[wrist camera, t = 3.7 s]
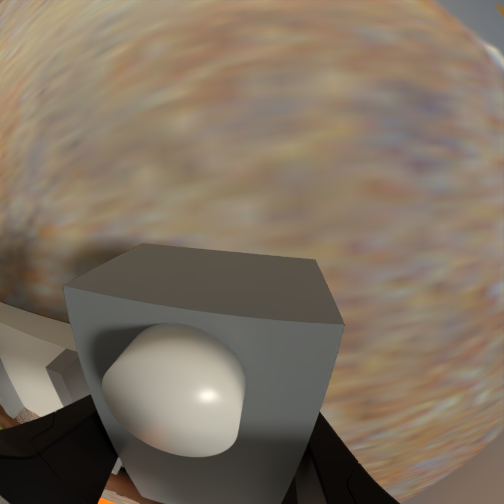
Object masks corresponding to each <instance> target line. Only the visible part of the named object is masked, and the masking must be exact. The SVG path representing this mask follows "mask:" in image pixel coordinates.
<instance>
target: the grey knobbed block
mask: <svg viewBox="0 0 504 504" xmlns="http://www.w3.org/2000/svg"><path fill="white" fill-rule="evenodd" d="M63 290H64V296H65V302H66V307H67V312H68V317H69V321H70V326H71V330H72V334H73V338H74V342H75V346H76V349H77V353H78V356H79V360H80V363H81V366H82V370H83V373H84V376H85V379H86V382H87V385H88V387H89V390H90V393H91V396H92V398H93V401H94V404H95V406H96V409H97V411H98V413H99V416H100V418H101V421H102V423H103V425H104V427H105V430H106V432H107V434H108V436H109V438H110V440H111V442H112V445H113V447H114V449H115V451H116V452H117V454H118V456H119V458H120V460H121V462H122V464H123V466H124V467H125V469H126V471H127V473H128V474H129V476H130V478H131V480H132V481H133V483H134V485H135V486H136V488H137V489H138V491H139V493H140V494H141V496H142V497H145V498H148V499H151V500H154V501H157V502H161V503H164V504H281V503H282V501H283V499H284V497H285V495H286V492H287V490H288V488H289V486H290V484H291V482H292V480H293V477H294V475H295V473H296V471H297V468H298V466H299V464H300V461H301V459H302V456H303V454H304V452H305V449H306V447H307V444H308V442H309V439H310V436H311V434H312V431H313V428H314V426H315V423H316V420H317V417H318V414H319V412H320V409H321V406H322V403H323V400H324V397H325V394H326V391H327V387H328V384H329V381H330V378H331V374H332V371H333V367H334V364H335V360H336V357H337V353H338V349H339V346H340V342H341V338H342V334H343V330H344V326H345V324H344V322H343V319H342V317H341V315H340V312H339V310H338V308H337V306H336V303H335V301H334V299H333V297H332V294H331V292H330V290H329V288H328V286H327V284H326V281H325V279H324V277H323V275H322V273H321V271H320V268H319V266H318V264H317V262H316V260H313V259H302V258H292V257H281V256H270V255H260V254H249V253H238V252H228V251H217V250H206V249H196V248H185V247H175V246H164V245H154V244H144V243H143V244H141V245H139V246H137V247H135V248H133V249H131V250H129V251H127V252H125V253H123V254H121V255H119V256H117V257H115V258H113V259H111V260H109V261H107V262H105V263H103V264H101V265H99V266H98V267H96V268H94V269H92V270H90V271H88V272H86V273H85V274H83V275H81V276H79V277H77V278H75V279H74V280H72V281H70V282H68V283H66V284H65V285H63Z"/></svg>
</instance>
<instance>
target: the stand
mask: <svg viewBox="0 0 504 504" xmlns="http://www.w3.org/2000/svg"><path fill="white" fill-rule="evenodd" d="M90 394H91V393H90V390H89V387H88V385H87V382H86V379H85V376H84V373H83V370H82V366H81V363H80V360H79V356H78V353H77V349H76V346H75V342H74V338H73V334H72V330H71V326H70V324H68V323H65V322H61V321H57V320H54V319H50V318H47V317H44V316H40V315H37V314H34V313H31V312H28V311H25V310H22V309H19V308H16V307H13V306H10V305H7V304H4V303H2V302H0V403H1V405H2V407H3V408H4V410H5V412H6V413H7V414H8V415H9V416H10V417H12V418H13V419H14V418H15V417H16V416H17V415H18V414H19V413H20V412H21V411H22V410H23V409H24V408H27V409H29V410H30V411H32V412H33V413H35V414H37V415H38V416H40V417H42V416H45V415H47V414H49V413H52V412H54V411H55V412H56V410H58V409H60V408H63V407H65V406H67V405H69V404H71V403H73V402H75V401H77V400H79V399H81V398H83V397H86V396H88V395H90ZM121 465H122V462H121V460H120V458H119V457H118V459H117V462H116V464H115V466H114V468H113V470H112V473H113V474H116V475H117V473H118V471H119V469H120V467H121Z"/></svg>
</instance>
